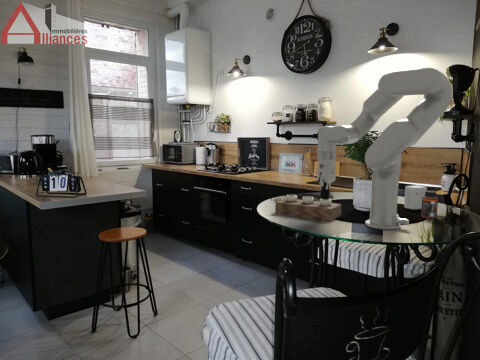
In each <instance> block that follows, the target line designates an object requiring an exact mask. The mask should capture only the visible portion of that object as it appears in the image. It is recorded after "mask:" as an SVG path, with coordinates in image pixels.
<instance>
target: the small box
mask: <svg viewBox="0 0 480 360" xmlns="http://www.w3.org/2000/svg"><path fill="white" fill-rule="evenodd" d="M404 187H405V189H404V202H403V204H404V205H403V206H404V208H405V209H408V210H421V208H422V197H423V196H425V191H428V186H424V185H405V186H404Z"/></svg>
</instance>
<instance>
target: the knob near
mask: <svg viewBox="0 0 480 360" xmlns="http://www.w3.org/2000/svg"><path fill="white" fill-rule="evenodd" d="M319 202H320V205H321V206H331V203H332V199H331V198H329V199H322V198H321V197H320V198H319Z"/></svg>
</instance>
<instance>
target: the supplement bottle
mask: <svg viewBox="0 0 480 360" xmlns="http://www.w3.org/2000/svg"><path fill="white" fill-rule="evenodd" d="M438 203H439V197H438V196H437V191H435V190H427V191H425V196H423V197H422V208H421V209H420V210H421V212H420V217H422V218H424V219H429V220H434V219H437V217H438V205H439V204H438Z"/></svg>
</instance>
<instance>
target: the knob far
mask: <svg viewBox="0 0 480 360" xmlns="http://www.w3.org/2000/svg"><path fill="white" fill-rule="evenodd" d="M285 199H286V201H288V202H296V201H297V199H298V195H296V194H286V197H285Z"/></svg>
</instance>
